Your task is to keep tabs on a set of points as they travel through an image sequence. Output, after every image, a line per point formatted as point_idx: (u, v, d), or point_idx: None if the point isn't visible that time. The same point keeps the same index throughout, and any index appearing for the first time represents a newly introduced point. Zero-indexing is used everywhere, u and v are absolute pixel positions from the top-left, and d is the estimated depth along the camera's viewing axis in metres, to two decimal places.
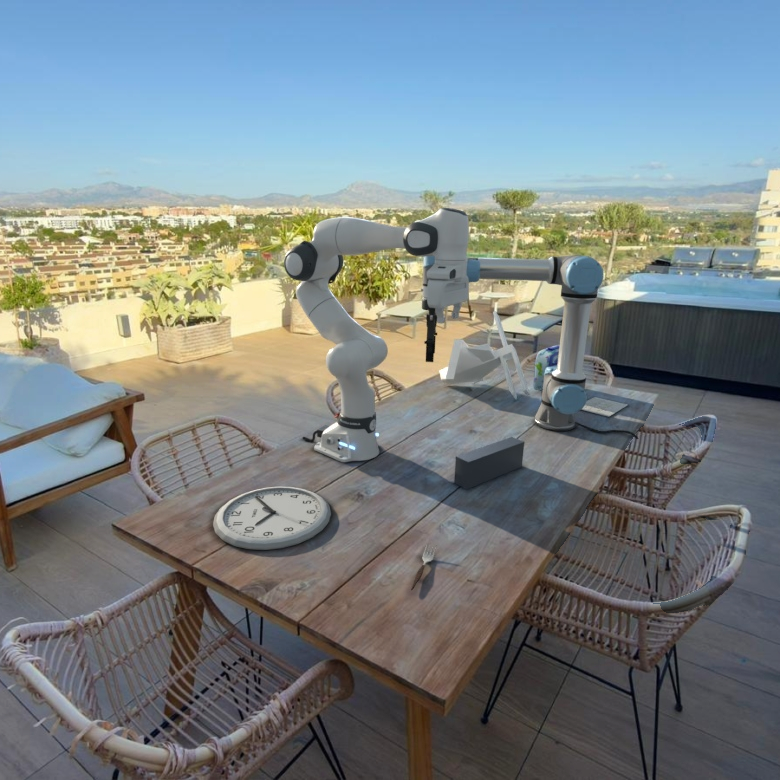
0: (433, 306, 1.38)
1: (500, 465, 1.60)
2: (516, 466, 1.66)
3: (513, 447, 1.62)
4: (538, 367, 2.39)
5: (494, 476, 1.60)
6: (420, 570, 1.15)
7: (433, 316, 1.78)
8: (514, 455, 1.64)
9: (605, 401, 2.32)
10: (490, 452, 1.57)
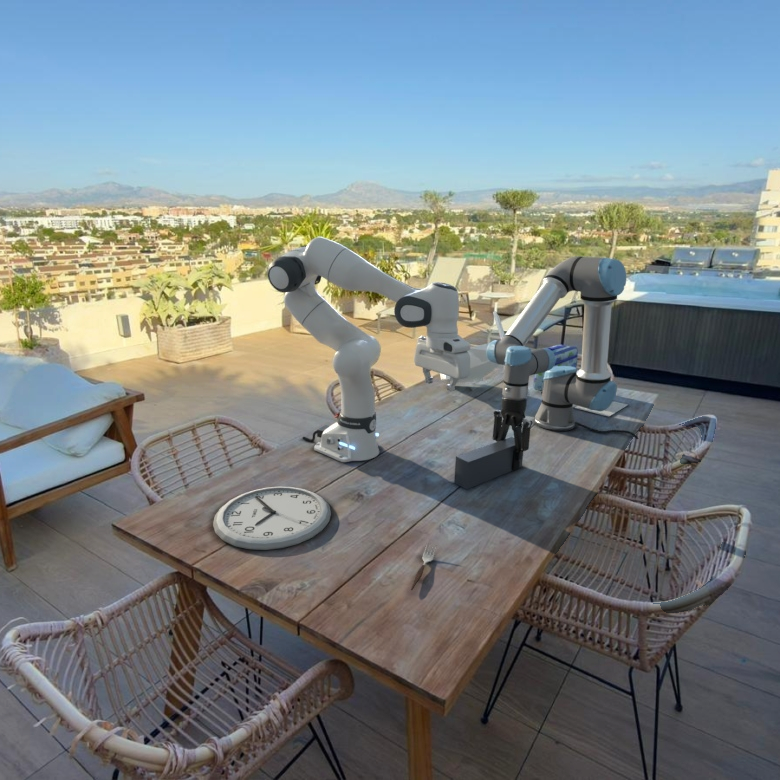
0: (464, 377, 1.45)
1: (500, 465, 1.60)
2: None
3: (513, 447, 1.62)
4: None
5: (494, 476, 1.60)
6: (420, 570, 1.15)
7: (531, 423, 1.58)
8: None
9: None
10: (490, 452, 1.57)
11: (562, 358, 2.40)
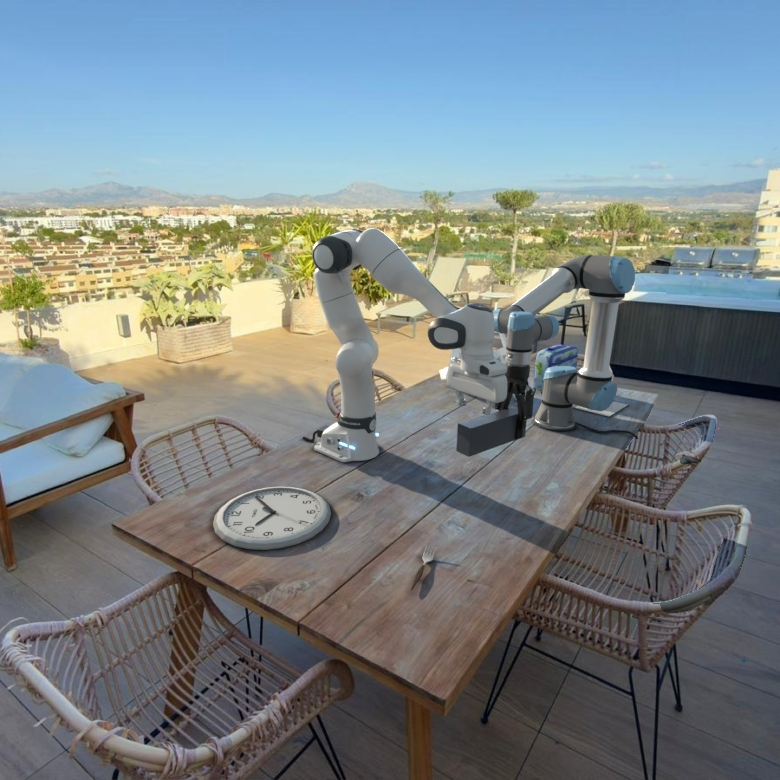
0: (501, 401, 1.41)
1: (502, 433, 1.57)
2: None
3: (516, 415, 1.59)
4: (538, 367, 2.39)
5: (497, 445, 1.57)
6: (420, 570, 1.15)
7: (534, 390, 1.55)
8: None
9: None
10: (492, 420, 1.54)
11: (562, 358, 2.40)
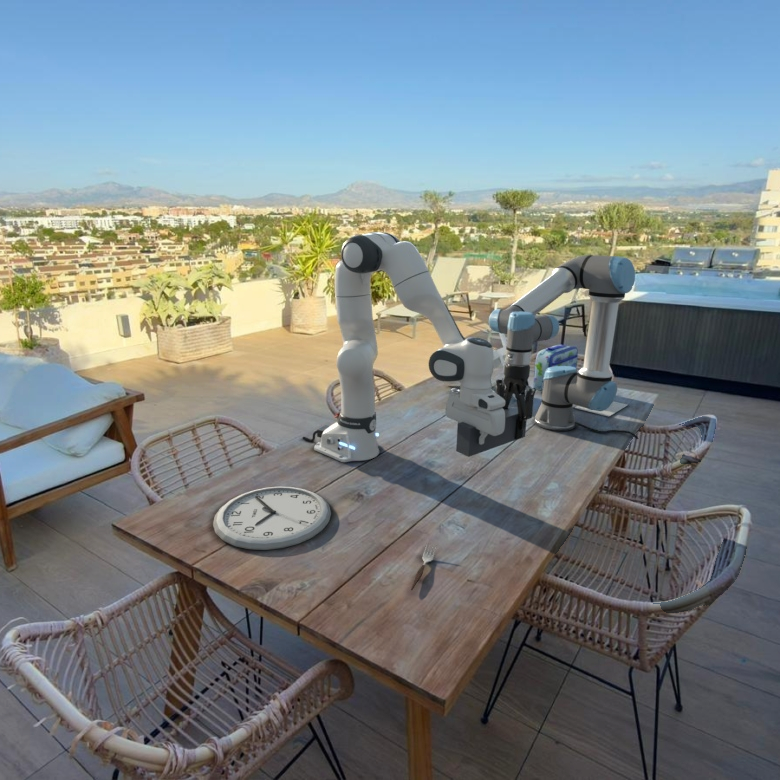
0: (499, 434, 1.44)
1: (502, 433, 1.57)
2: None
3: (516, 415, 1.59)
4: (538, 367, 2.39)
5: (497, 445, 1.57)
6: (420, 570, 1.15)
7: (534, 390, 1.55)
8: None
9: None
10: None
11: (562, 358, 2.40)
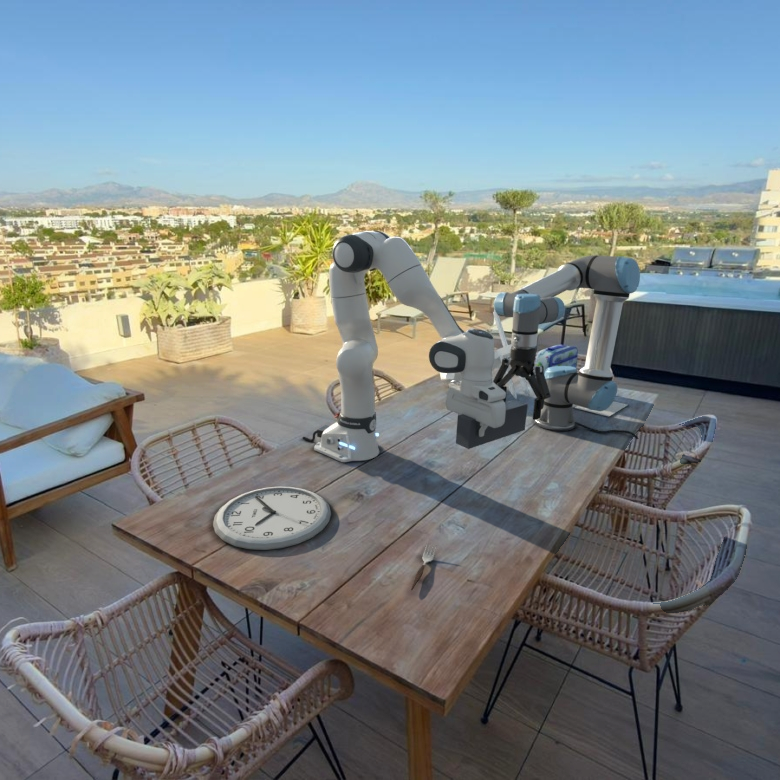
0: (499, 426, 1.43)
1: (502, 426, 1.57)
2: (519, 429, 1.62)
3: (516, 408, 1.59)
4: None
5: (496, 437, 1.56)
6: (420, 570, 1.15)
7: (542, 367, 1.54)
8: (517, 417, 1.60)
9: None
10: None
11: (562, 358, 2.40)
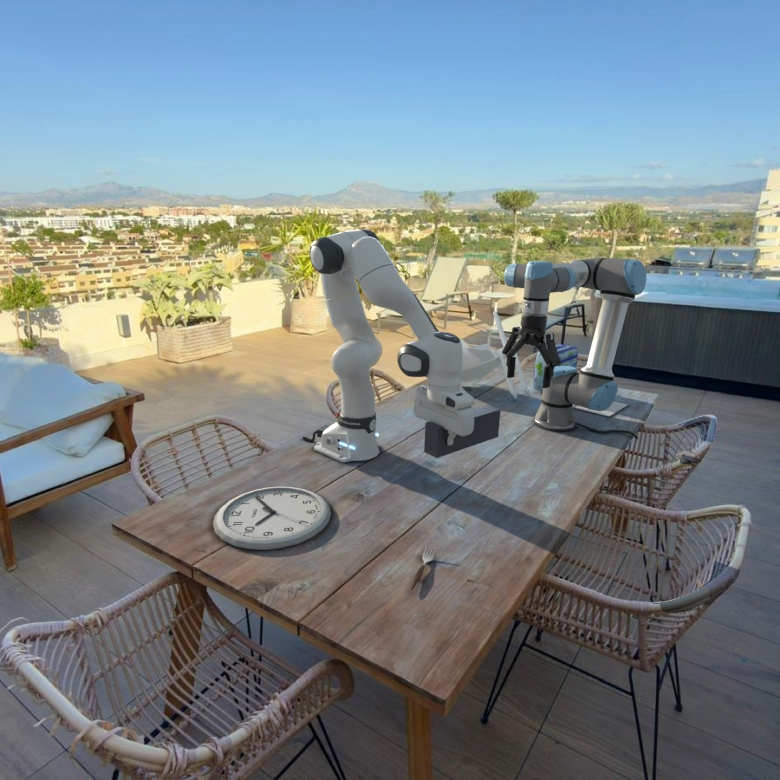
0: (468, 434, 1.36)
1: (473, 433, 1.49)
2: (492, 436, 1.55)
3: (488, 415, 1.51)
4: (538, 367, 2.39)
5: (467, 445, 1.49)
6: (420, 570, 1.15)
7: (553, 335, 1.54)
8: (490, 424, 1.53)
9: None
10: None
11: (562, 358, 2.40)
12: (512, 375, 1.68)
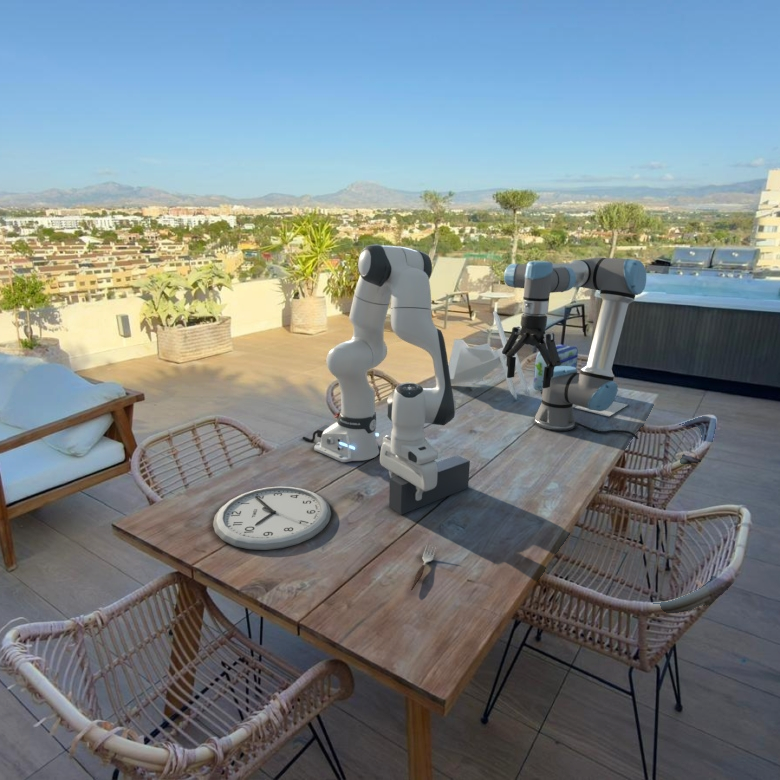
0: (430, 489, 1.33)
1: (441, 487, 1.46)
2: (461, 487, 1.52)
3: (456, 467, 1.48)
4: (538, 367, 2.39)
5: (434, 499, 1.46)
6: (420, 570, 1.15)
7: (553, 335, 1.54)
8: (459, 476, 1.50)
9: None
10: None
11: (562, 358, 2.40)
12: (512, 375, 1.68)
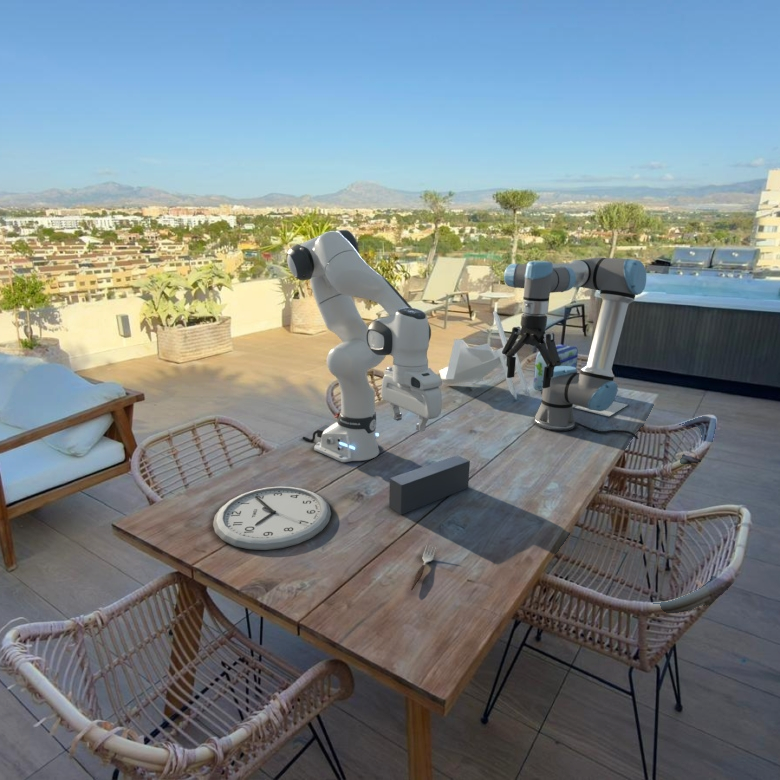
0: (435, 417, 1.27)
1: (441, 487, 1.46)
2: (461, 487, 1.52)
3: (456, 467, 1.48)
4: (538, 367, 2.39)
5: (434, 499, 1.46)
6: (420, 570, 1.15)
7: (553, 335, 1.54)
8: (459, 476, 1.50)
9: None
10: (428, 473, 1.43)
11: (562, 358, 2.40)
12: (512, 375, 1.68)
